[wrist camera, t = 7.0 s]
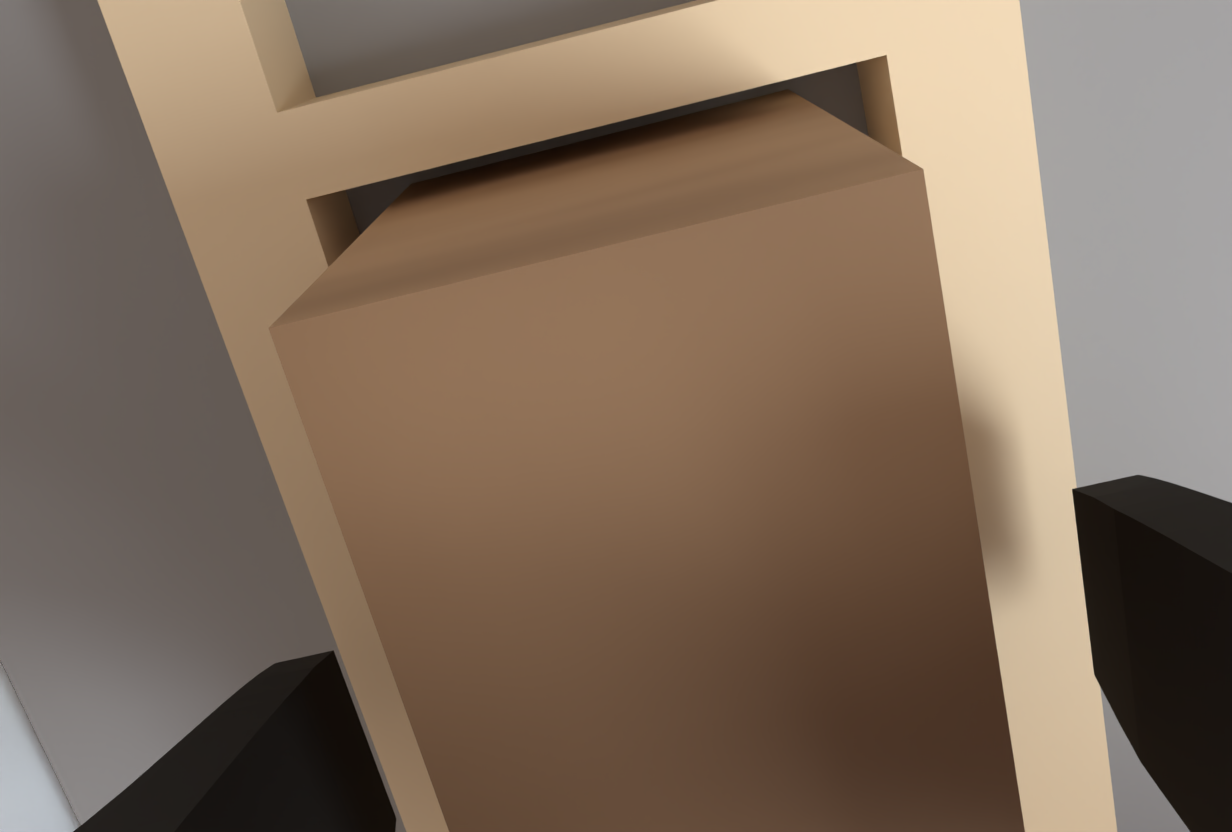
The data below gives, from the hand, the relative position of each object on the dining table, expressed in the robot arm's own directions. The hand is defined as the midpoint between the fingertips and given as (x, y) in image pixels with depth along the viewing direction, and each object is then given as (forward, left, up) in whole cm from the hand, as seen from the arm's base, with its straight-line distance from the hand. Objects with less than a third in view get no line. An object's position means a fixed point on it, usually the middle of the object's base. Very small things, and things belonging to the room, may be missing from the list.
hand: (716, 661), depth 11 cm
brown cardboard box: (0, 0, -3) cm, 3 cm away
